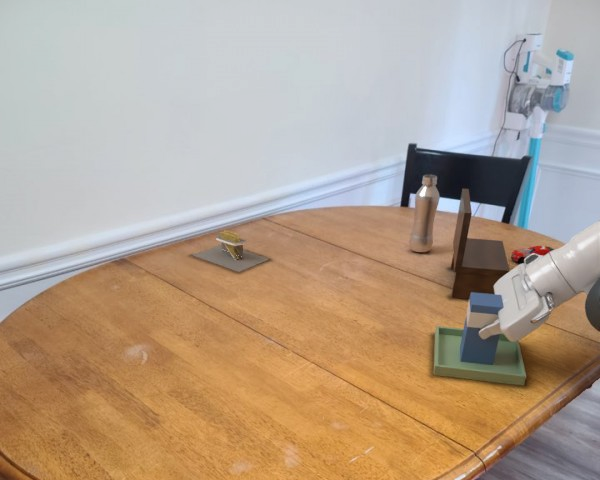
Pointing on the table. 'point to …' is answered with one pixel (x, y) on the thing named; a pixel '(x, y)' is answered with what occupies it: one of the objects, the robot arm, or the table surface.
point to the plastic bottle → (424, 215)
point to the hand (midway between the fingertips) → (479, 326)
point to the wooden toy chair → (475, 257)
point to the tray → (502, 371)
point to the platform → (231, 253)
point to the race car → (530, 252)
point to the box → (477, 316)
